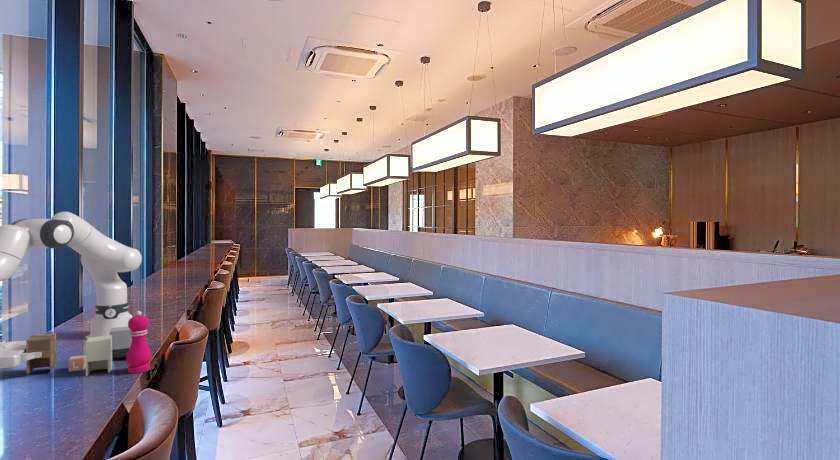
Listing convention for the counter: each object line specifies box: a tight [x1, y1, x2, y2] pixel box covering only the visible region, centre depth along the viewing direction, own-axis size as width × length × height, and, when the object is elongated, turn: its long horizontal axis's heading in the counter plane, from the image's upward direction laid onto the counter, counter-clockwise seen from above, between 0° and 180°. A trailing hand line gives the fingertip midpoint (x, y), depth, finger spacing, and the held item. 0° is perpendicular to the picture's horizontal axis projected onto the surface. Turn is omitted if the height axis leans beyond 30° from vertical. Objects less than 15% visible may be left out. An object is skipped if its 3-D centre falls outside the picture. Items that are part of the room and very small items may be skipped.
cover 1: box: [84, 335, 113, 377], centre depth 150 cm, size 6×6×11 cm
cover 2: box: [109, 327, 132, 361], centre depth 163 cm, size 6×6×11 cm
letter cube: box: [68, 354, 86, 372], centre depth 152 cm, size 4×4×4 cm
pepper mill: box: [125, 310, 153, 375], centre depth 151 cm, size 7×7×20 cm
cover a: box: [25, 332, 57, 375], centre depth 149 cm, size 6×6×11 cm
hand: (45, 351), depth 149 cm, fingers closed on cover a, 6 cm apart
